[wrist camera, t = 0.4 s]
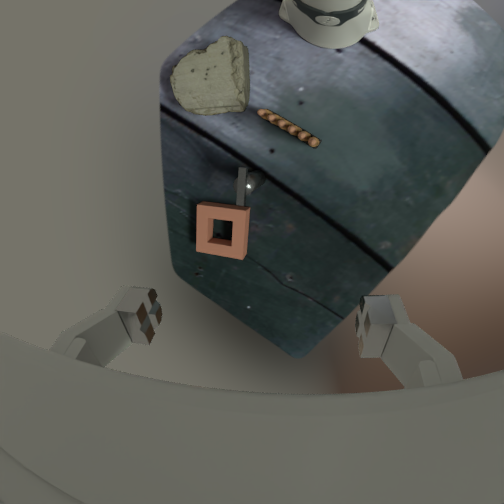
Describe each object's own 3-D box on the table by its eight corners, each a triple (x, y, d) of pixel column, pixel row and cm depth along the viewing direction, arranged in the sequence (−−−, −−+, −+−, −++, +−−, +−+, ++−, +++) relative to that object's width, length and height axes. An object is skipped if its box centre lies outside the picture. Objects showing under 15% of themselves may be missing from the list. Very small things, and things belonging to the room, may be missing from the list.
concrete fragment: (266, 110, 46) (181, 123, 42) (245, 105, 54) (174, 117, 51) (260, 33, 38) (171, 40, 34) (239, 41, 46) (165, 49, 42)
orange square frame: (203, 201, 58) (196, 204, 56) (250, 207, 56) (245, 210, 54) (202, 246, 62) (196, 251, 60) (246, 253, 60) (242, 259, 58)
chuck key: (250, 161, 53) (232, 166, 43) (267, 163, 52) (252, 168, 43) (248, 192, 55) (230, 204, 46) (264, 194, 55) (249, 206, 45)
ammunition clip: (266, 119, 49) (249, 113, 39) (271, 110, 48) (256, 103, 38) (316, 148, 49) (313, 150, 38) (321, 140, 48) (320, 140, 38)
